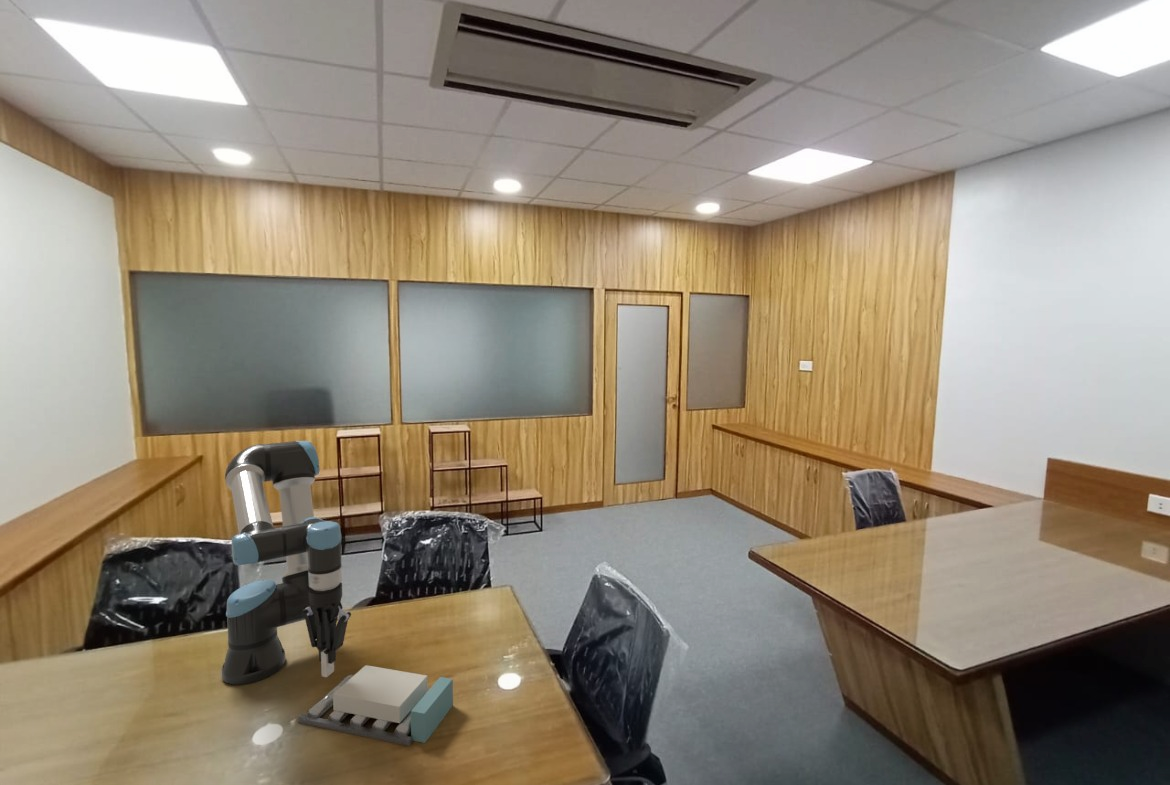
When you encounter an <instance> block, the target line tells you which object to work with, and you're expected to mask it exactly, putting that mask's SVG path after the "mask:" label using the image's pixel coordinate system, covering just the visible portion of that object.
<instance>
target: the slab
mask: <svg viewBox="0 0 1170 785" xmlns="http://www.w3.org/2000/svg"><path fill="white" fill-rule="evenodd" d="M428 686H429V685H428V675H426V674H421V673H420V674H419V673H414V672H410V671H409V672H408V671H401V670H396V669H391V668H384V667H379V666H374V665H368V664H366V665H364V666H363V667H362V668H361V669H360V670H358V671H357V672H356V673H355V674H354V676H353V677H352V678H351V679H349V680H348V681H347V682H346V683H345V684H344V685H343V686H342V687H340V688H339V689H338V690H337V691H336V692H335V693H334V694H333V706H332V707H333V711H334V710H336V711H341V712H346V713H349V714H350V715H351V714H353V715H361V716H366V717H371V718H370V719H376V720H377V719H381V720H386V721H391V722H392V723H396V724H400V723H401V722H402V721H403V720H404V718H405V717H406V716H407V715H408V714H409V713H410V711H411V710H412V709H413V708H414V707H415V705H416V704H417V703H418V702H419V701H420V700H421V698H422V697H423V696H424V694H425V693H426V692H427V691H428V690H429V689H428Z"/></svg>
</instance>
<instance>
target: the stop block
mask: <svg viewBox="0 0 1170 785" xmlns="http://www.w3.org/2000/svg"><path fill="white" fill-rule="evenodd" d="M453 682H454V681H453V678H449V677H443V676H439V677H438V679H437V680H436V681H435V682H434V683H433V684H432V685H431V687H430V688H429V689H428V691H427V693H426V694H425V695H424V696H423V697H422V698H421V699H420V700H419V701H418V703H417V704H416V705H415V706H414V707H413V708H412V709H411V731H410V734H411V735H410V737H412V742H413V741H414V742H417V743H418V742H419V743H424V744H425V743H426V742H427V741H428V740H429V738H430V737H431V735H432V734H433V733H434V732H435V731H436V729H437V728H438V726H439V725H440V724H441V722H443V719H444V718H445V717H446V716H447V714H448V713H449V711H450V710H451V708H453V707H454V693H453V692H454V685H453Z"/></svg>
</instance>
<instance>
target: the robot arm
mask: <svg viewBox="0 0 1170 785" xmlns="http://www.w3.org/2000/svg"><path fill="white" fill-rule="evenodd" d="M320 470H321V467H320V460H319V455H318V452H317V449H316V448H315V446H314V444H313V443H312V442H311V441H309V440H293V441H285V442H283V441H282V442H275V443H273V442H272V443H263V444H262V443H259V444H254V445H251V446H248V447H246V448H244V449H243V450H241V451H239V452H238V453H237V454H236V455H235V456H234V457H233V458H232V459H231V460H230V462H228V465H227V467H226V469H225V473H224V480H225V485H226V487H227V488H228V489H229V490H230V491H231V494H232V496H231V497H232V501H233V507H234V511H235V512H234V513H235V519H236V524H237V531H238V534H236V535H234V536H232V538H231V554H232V555H231V556H232V561H233V564H234V565H235V566H244V565H251V564H252V565H255V564H256V563H261V562H262V563H263V562H266V561H270V560H276V559H280V558H283V557H285V560H286V567H287V569H286V571H285V572H284V574H283V575H281V580H282V583H277V584H276V582H275V581H274V580H271V579H265V580H264V579H262V580H258V581H253V582H250V583H248V584H245V585H242V586H241V587H239V588H238V589H235V591H233V592H231V594H230V595H229V596H228V598H227V601H226V612H225V617H227V618H226V619H227V620H226V622H227V648H228V649H227V651H226V654H225V659H224V663H222V664H223V665H222V667H221V679H223V680H222V681H223V682H225V683H226V684H228V683H229V684H228V685H234V686H235V685H239V686H240V685H246V684H252V683H255V682H259V681H261V680H264V679H267V678H268V677H270V676H273V675H274V674H275V673H277V672H278V671H280V670H281V668H282V667H284V665H285V663H286V651H285V649H284V647H283V645H282V642H281V640H280V637H279V636H278V628H280V627H283V626H287V625H290V624H294V623H299V622H301V621H302V622H303V621H305V623H306V624H305V625H306V628H307V632H308V636H309V640H310V645H311V648H317V651H318V660H319V662H320V663H321V664H320V665H321V667H320V668H321V677H324V678H328V677H329V676H330V675H331V674H332V673H334V672H335V661H336V659H337V651H338V650H339V649H341V647H343V646H344V642H345V636H346V631H347V628H348V627H347V626H348V621H349V620H350V619H351V617H352V613H351V611H348V612H347V611H345V610H344V609H343V605H342V602H341V601H342V598H343V571H342V570H343V568H342V567H343V566H342V537H343V535H342V532H341V525H340V524H339V523H338V522H336V521H333V520H323V519H322V518H320V517H317V516H314V515H315V514H314V505H313V499H312V498H313V497H312V490H311V488H312V487H311V486H312V485H313V484H314V482H315V481H316V476H318V475H319V474H320ZM266 482H272V487H273V488H274V489H275V490H277V491H278V493H279V501H280V512H281V520H282V526H280V527H274V524H273V523H274V522H273V520H272V515H271V511H270V507H269V503H268V500H267V496H266V492H265V487H264V484H263V483H266ZM283 664H284V665H283Z"/></svg>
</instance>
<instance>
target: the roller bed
mask: <svg viewBox="0 0 1170 785" xmlns="http://www.w3.org/2000/svg"><path fill="white" fill-rule="evenodd" d="M354 675H355V674H354ZM354 675H353V674H349V675H347V676H345V677H344V678H341V679H342V680H341V681H340V682H339V683H338V684H337V685H336V686H335V687H334V688H333V689H331V690H330V691H329V692H327V694H325V695H324V697H322V698H321V699H320V700H319V701H318V702H317V703H315V704H314V705H313V706H312V707H311V708H309V710H307V712H306V715H305V714H300V716H299V717H298V718H297V723H300V724H303V725H308V726H312V727H318V728H322V729H327V730H332V731H336V732H342V733H346V734H351V735H355V736H360V737H365V738H369V739H373V740H379V741H385V742H387V743H388V742H389V743H394V744H398V745H404V746H408V747H409V746H411V744H412V743H413V740H412V737H411V736H408V735H409V734H411V711H410V712H409V713H408V714H407V715H406V716H405V718H404V719H403V720H402V721H401V722H400V723H398V725H397V726H396V728H395V730H394V732H388V731H386V730H387V729H388V728H389V726H390V725H391V724H392V723H393V722H391V721H386V720H381V719H376V720H375V721H374V722H373V724H372V725H371V728H369V727H364V725H365V724H366V723H367V722H368V721H369V720H370V719H372V718H371V717H366V716H361V715H356V714H354V716H352V718H351V719H350V721H349V723H344V722H342V721H343V720H344V719H345V718H346V717H347V716H348V715H349V714H350V713H346V712H341V711H336V710H333V711H331V713H330V714H329V715H328V717H327V719H326V718H321V717H322V716H323V715H324V714H325V713H326V712H327V711H328V710H330V708H332V707H333V694H334V693H335V692H336V691H337V690H338V689H339V688H340V687H342V686H343V685H344V684H345V683H346V682H347V681H348V680H349V679H351V678H352V677H353V676H354ZM426 693H427V692H426ZM426 693H425V694H426ZM425 694H424V695H425Z"/></svg>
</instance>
